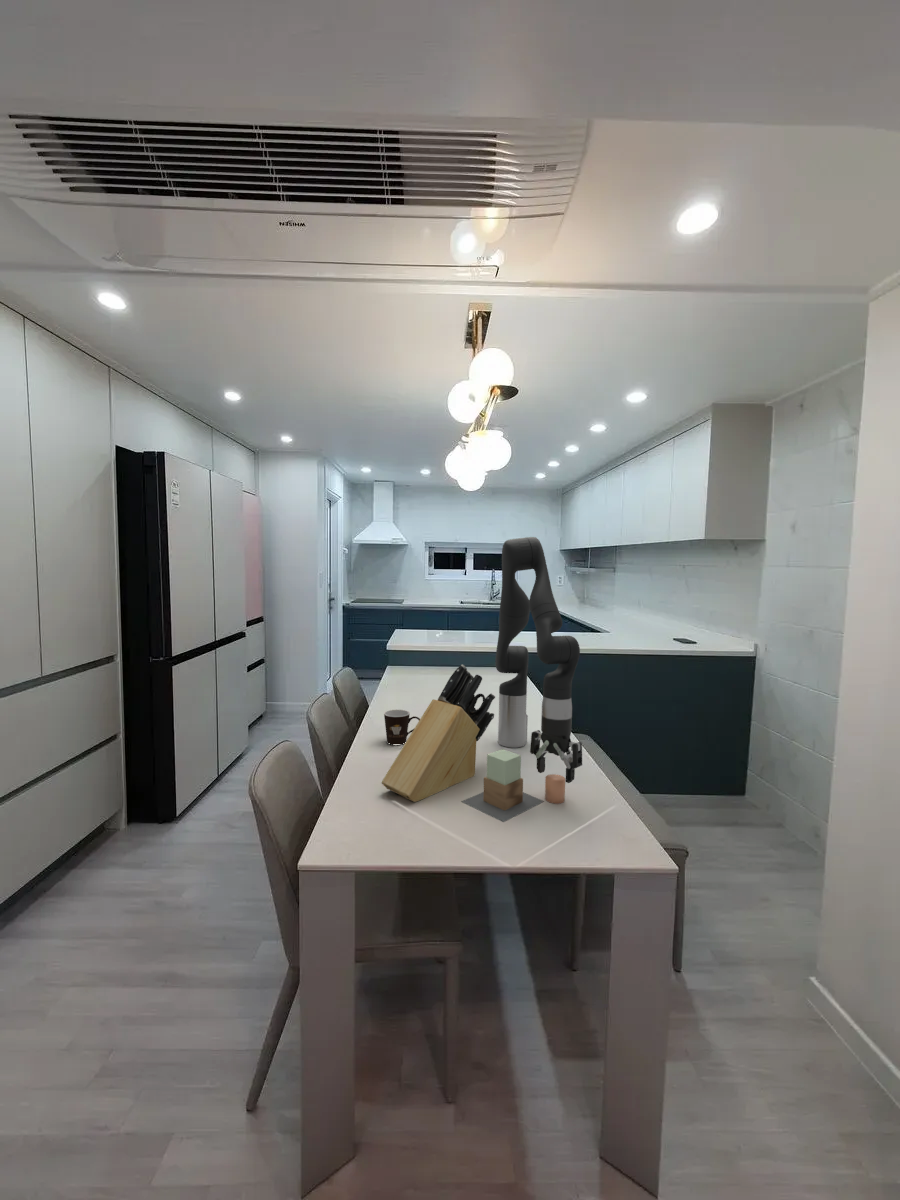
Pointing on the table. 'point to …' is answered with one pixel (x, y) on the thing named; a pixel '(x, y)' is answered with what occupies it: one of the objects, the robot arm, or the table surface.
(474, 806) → the mat
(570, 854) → the table surface
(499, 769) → the top block
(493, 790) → the bottom block
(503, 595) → the robot arm
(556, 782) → the tan rounded cylinder
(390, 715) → the coffee mug
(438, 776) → the knife block
